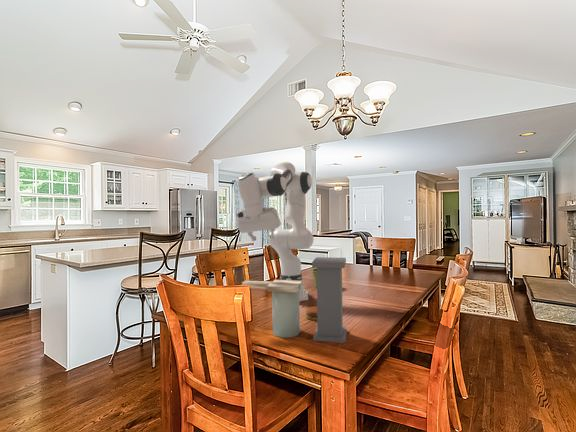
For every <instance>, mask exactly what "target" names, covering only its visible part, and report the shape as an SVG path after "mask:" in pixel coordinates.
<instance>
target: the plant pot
mask: <svg viewBox="0 0 576 432" xmlns="http://www.w3.org/2000/svg"><path fill="white" fill-rule="evenodd" d="M311 271H312V275H313V279H314V284H315V285H314V286H315V288H316V289H317V267H314V268H313V269H311Z"/></svg>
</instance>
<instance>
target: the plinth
mask: <svg viewBox="0 0 576 432" xmlns="http://www.w3.org/2000/svg"><path fill="white" fill-rule="evenodd" d="M346 264H347V257H328V256H327V257H324V256H323V257H322V256H317V257H315V258H314V259H313V261H312V262H311V266H312V268H317V288H316V306H317V324H316V327H315V331H314V333H313V336H312V338H313V339H312V341H314V342H328V343H340V344H345V343H346V340H347V329H348V327H347V326H343V320H344V319H343V269H345V267H346Z"/></svg>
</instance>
